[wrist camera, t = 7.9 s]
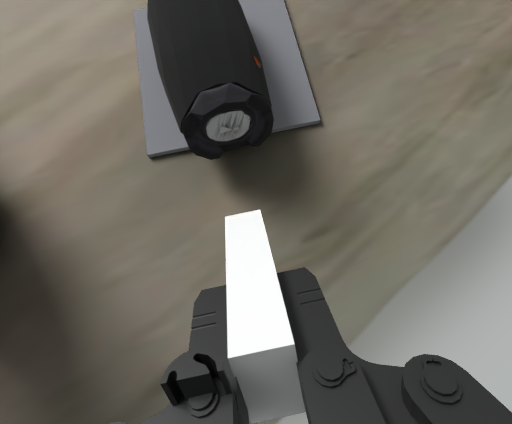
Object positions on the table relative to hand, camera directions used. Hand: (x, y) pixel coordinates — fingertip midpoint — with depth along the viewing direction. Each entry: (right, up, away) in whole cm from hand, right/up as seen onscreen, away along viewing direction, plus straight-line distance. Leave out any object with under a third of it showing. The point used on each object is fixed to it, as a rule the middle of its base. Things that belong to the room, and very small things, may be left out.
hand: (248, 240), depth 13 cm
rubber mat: (-4, +18, +20) cm, 28 cm away
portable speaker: (-2, +8, +12) cm, 14 cm away
